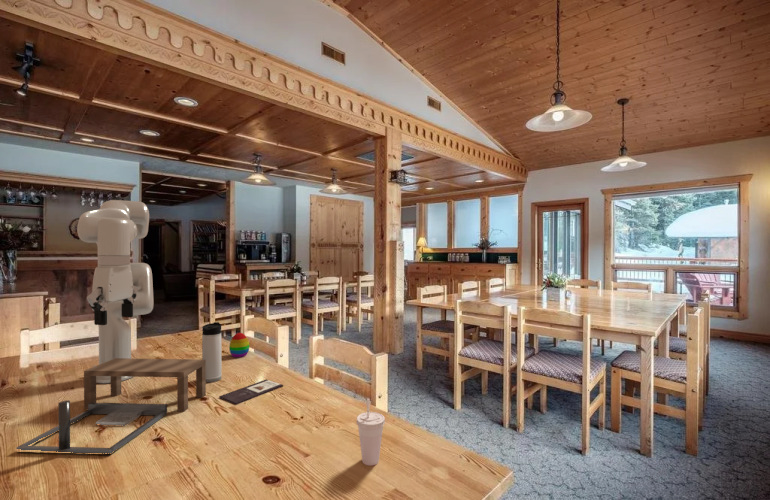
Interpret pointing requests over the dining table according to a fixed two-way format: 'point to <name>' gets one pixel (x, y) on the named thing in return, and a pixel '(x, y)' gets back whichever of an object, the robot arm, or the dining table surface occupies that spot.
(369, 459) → the smoothie
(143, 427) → the grey metal frame
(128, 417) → the pale grey flat block
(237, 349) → the decorative egg
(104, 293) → the robot arm
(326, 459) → the dining table surface
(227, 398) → the chocolate bar
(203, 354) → the travel mug
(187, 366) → the small wooden bench
